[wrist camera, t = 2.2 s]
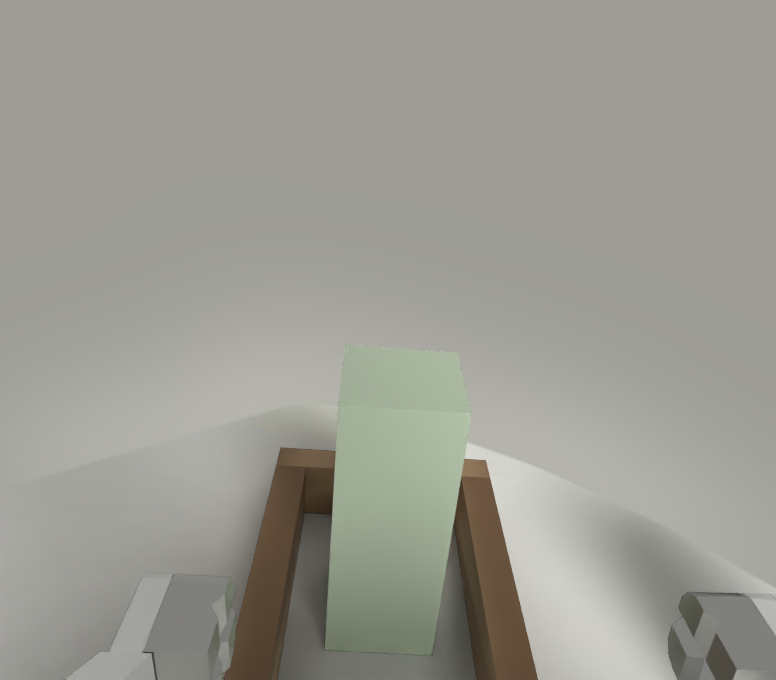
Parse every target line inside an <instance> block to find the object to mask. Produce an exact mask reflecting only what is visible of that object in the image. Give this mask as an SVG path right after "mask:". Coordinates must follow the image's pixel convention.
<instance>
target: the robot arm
mask: <svg viewBox="0 0 776 680" xmlns="http://www.w3.org/2000/svg"><path fill="white" fill-rule="evenodd" d="M234 593H235V592H234V582H233V578H231V577H221V576H204V575H187V574H162V573H146V575H145V576H144V577H143V578H142V579H141V580H140V583H139V585H138V587H137V589H136V592H135V594H134V596H133V598H132V601H131V603H130V605H129V607H128V609H127V612H126V614H125V616H124V618H123V621H122V623H121V625H120V627H119V630H118V632H117V634H116V636H115V639H114V641H113V643H112V645H111V648H110V650H109V652H99V653H98V654H96V655H95V656H94V657H93V658H91V659H90V660H89V661H88V662H86V663H85V664H84V665H83V666H81V667H80V668H79V669H78V670H76V671H75V672H74V673H73V674H71V675H70V676H69V677H68V678H66V679H65V680H223V673H224V672H226V671H227V670H228V669H229V668H230V665H231V660H232V656H233V651H234V644H235V637H236V610H235V609H234V608H233V607H232V606H231V604H232V600H233V597H234ZM678 608H679V610H680V612H681V614H682V616H683V617H682V618H680V619H679V620H678V621H677V622H675V623H674V624H673V625H672V627H671V630H670V634H669V637H668V650H669V658H670V661H671V665H672V668H673V671H674V673H675V675H676V677H677V680H776V598H775V597H774V596H772V595H771V594H739V593H707V592H687V593H686V594H685V595H684V596H682V598H681V601H680V604H679V606H678Z"/></svg>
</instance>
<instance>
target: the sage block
mask: <svg viewBox="0 0 776 680" xmlns="http://www.w3.org/2000/svg"><path fill="white" fill-rule="evenodd" d="M470 420H471V409H470V404H469V400H468V396H467V391H466V387H465V383H464V378H463V375H462V370H461V366H460V361H459V357H458V353H454V352H439V351H425V350H411V349H396V348H382V347H368V346H354V345H346V346H345V353H344V362H343V370H342V378H341V387H340V395H339V404H338V420H337V438H336V456H335V474H334V492H333V509H332V527H331V545H330V563H329V581H328V599H327V617H326V635H325V650H333V651H353V652H373V653H393V654H413V655H432V652H433V646H434V640H435V634H436V628H437V622H438V616H439V609H440V603H441V597H442V591H443V585H444V579H445V573H446V567H447V561H448V555H449V548H450V542H451V536H452V530H453V524H454V518H455V512H456V506H457V500H458V494H459V487H460V481H461V475H462V469H463V463H464V457H465V451H466V445H467V438H468V432H469V426H470Z"/></svg>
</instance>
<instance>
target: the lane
mask: <svg viewBox="0 0 776 680" xmlns="http://www.w3.org/2000/svg"><path fill="white" fill-rule="evenodd" d="M335 456H336V451H328V450H312V449H296V448H280V452H279V456H278V460H277V464H276V469H275V473H274V477H273V481H272V485H271V489H270V493H269V497H268V501H267V505H266V509H265V513H264V518H263V522H262V526H261V530H260V534H259V538H258V542H257V546H256V550H255V554H254V558H253V562H252V567H251V571H250V575H249V579H248V583H247V587H246V591H245V595H244V599H243V603H242V607H241V611H240V616H239V620H238V624H237V628H236V637H235V644H234V651H233V656H232V660H231V665H230V668H229V669H228V670H227V671H226V673H225V677H224V680H277V678H278V672H279V666H280V660H281V654H282V648H283V641H284V635H285V629H286V623H287V617H288V611H289V605H290V598H291V592H292V586H293V580H294V574H295V568H296V562H297V555H298V549H299V543H300V537H301V531H302V525H303V519H304V512H306V513H324V514H332V509H333V492H334V474H335ZM454 525H455V532H456V539H457V546H458V553H459V560H460V567H461V574H462V581H463V588H464V595H465V602H466V609H467V616H468V623H469V630H470V637H471V644H472V651H473V658H474V665H475V672H476V679H477V680H538V678H537V674H536V670H535V665H534V661H533V657H532V653H531V648H530V644H529V640H528V636H527V632H526V627H525V623H524V619H523V615H522V611H521V606H520V602H519V598H518V594H517V590H516V585H515V581H514V577H513V573H512V569H511V564H510V560H509V556H508V552H507V548H506V543H505V539H504V535H503V531H502V527H501V522H500V518H499V514H498V510H497V505H496V501H495V497H494V493H493V489H492V484H491V480H490V476H489V472H488V468H487V463H486V460H473V459H464V463H463V469H462V475H461V481H460V487H459V494H458V500H457V506H456V512H455V518H454Z"/></svg>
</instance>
